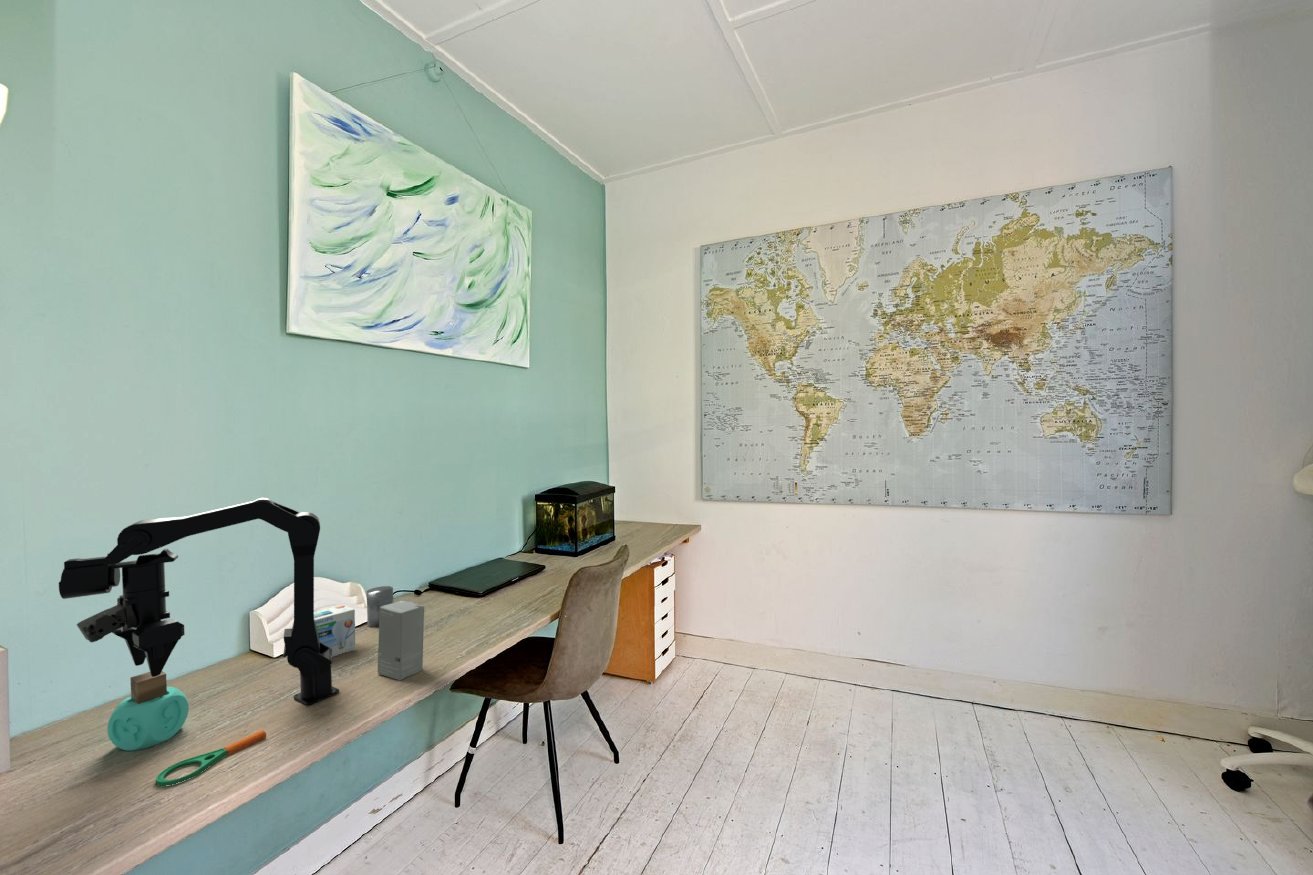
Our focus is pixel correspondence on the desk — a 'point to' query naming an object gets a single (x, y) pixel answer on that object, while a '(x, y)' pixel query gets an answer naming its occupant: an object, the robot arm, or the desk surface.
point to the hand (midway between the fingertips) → (147, 670)
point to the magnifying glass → (207, 759)
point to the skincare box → (400, 639)
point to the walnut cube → (148, 687)
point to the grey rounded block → (377, 603)
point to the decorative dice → (147, 720)
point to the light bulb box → (336, 628)
